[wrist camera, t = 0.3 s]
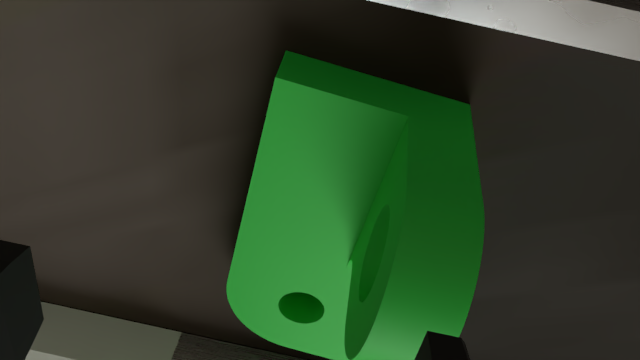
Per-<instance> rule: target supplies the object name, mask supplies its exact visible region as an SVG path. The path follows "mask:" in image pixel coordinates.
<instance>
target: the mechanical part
mask: <svg viewBox="0 0 640 360" xmlns="http://www.w3.org/2000/svg"><path fill="white" fill-rule="evenodd" d="M483 240H484V207H483V199H482V192H481V184H480V177H479V169H478V162H477V154H476V147H475V139H474V132H473V124H472V116H471V109H470V105H469V104H466V103H463V102H459V101H456V100H453V99H449V98H446V97H442V96H439V95H436V94H432V93H429V92H425V91H422V90H419V89H415V88H412V87H409V86H405V85H402V84H398V83H395V82H392V81H388V80H385V79H381V78H378V77H375V76H371V75H368V74H365V73H361V72H358V71H354V70H351V69H348V68H344V67H341V66H337V65H334V64H331V63H327V62H324V61H321V60H317V59H314V58H310V57H307V56H304V55H300V54H297V53H293V52H290V51H287V50H286V52H285V54H284V57H283V59H282V62H281V64H280V67H279V69H278V72H277V74H276V77H275V80H274V85H273V89H272V93H271V97H270V102H269V106H268V110H267V114H266V119H265V123H264V127H263V131H262V136H261V140H260V144H259V148H258V153H257V157H256V161H255V165H254V170H253V174H252V178H251V182H250V187H249V191H248V195H247V199H246V204H245V208H244V212H243V216H242V221H241V225H240V229H239V233H238V238H237V242H236V246H235V250H234V255H233V259H232V263H231V267H230V272H229V276H228V280H227V298H228V301H229V304H230V306H231V308H232V310H233V312H234V313H235V315H236V316H237V317H238V319H239V320H240V321H241V322H242V323H243V324H244V325H245V326H246V327H248V328H249V329H250V330H251V331H253V332H254V333H256V334H257V335H259V336H261V337H262V338H264V339H266V340H268V341H270V342H273V343H275V344H278V345H281V346H284V347H287V348H291V349H295V350H299V351H302V352H306V353H310V354H313V355H317V356H321V357H325V358H328V359H332V360H415V357H416V355H417V353H418V351H419V348H420V346H421V344H422V342H423V339H424V337H425V335H426V333H427V331H431V332H436V333H440V334H445V335H450V336H455V337H459V336H460V333H461V331H462V328H463V326H464V323H465V320H466V318H467V315H468V312H469V309H470V305H471V302H472V298H473V295H474V291H475V287H476V283H477V279H478V274H479V269H480V263H481V257H482V249H483Z"/></svg>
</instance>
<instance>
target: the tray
mask: <svg viewBox="0 0 640 360" xmlns="http://www.w3.org/2000/svg"><path fill="white" fill-rule="evenodd" d="M41 306H42V312H43V317H44V320H43V322H42V325H41V327H40V329H39V331H38V333H37V335H36V338H35V340H34V342H33V344H32V346H31V348H30V350H29V352H28V354H27V356H26V358H25V360H171V359H172V356H173V354H174V351H175V349H176V346H177V343H178V341H179V338H180V336H181V333H182V332H178V331H173V330H169V329H164V328H160V327H155V326H150V325H146V324H141V323H137V322H132V321H128V320H123V319H118V318H114V317H109V316H105V315H100V314H96V313H91V312H86V311H82V310H77V309H73V308H68V307H64V306H59V305H55V304H50V303H45V302H41Z"/></svg>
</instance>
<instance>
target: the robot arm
mask: <svg viewBox="0 0 640 360" xmlns="http://www.w3.org/2000/svg"><path fill="white" fill-rule="evenodd" d="M43 320H44V317H43V312H42V306H41V301H40V296H39V291H38V285H37V280H36V275H35V270H34V265H33V259H32V254H31V249H30V246H26V245H21V244H16V243H12V242H7V241H2V240H0V360H25V358H26V356H27V354H28V352H29V350H30V348H31V346H32V344H33V342H34V340H35V338H36V335H37V333H38V331H39V329H40V327H41V325H42V322H43ZM415 360H470V358H469V355H468V352H467V348H466V345H465V343H464V341H463V340H462V338H459V337H455V336H450V335H445V334H440V333H436V332H431V331H427V333H426V335H425V337H424V339H423V342H422V344H421V346H420V348H419V351H418V353H417V355H416V357H415Z"/></svg>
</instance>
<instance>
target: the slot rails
mask: <svg viewBox="0 0 640 360" xmlns="http://www.w3.org/2000/svg"><path fill="white" fill-rule="evenodd" d="M368 1H372V2H377V3H381V4H386V5H390V6H395V7H399V8H404V9H408V10H413V11H417V12H422V13H426V14H431V15H435V16H440V17H444V18H449V19H453V20H458V21H462V22H467V23H471V24H476V25H480V26H485V27H489V28H494V29H498V30H503V31H507V32H512V33H516V34H521V35H525V36H530V37H534V38H539V39H543V40H548V41H552V42H557V43H561V44H566V45H570V46H574V47H579V48H583V49H588V50H592V51H597V52H601V53H606V54H610V55H615V56H619V57H624V58H628V59H633V60H637V61H640V0H368ZM171 360H306V359H301V358H297V357H292V356H287V355H283V354H278V353H274V352H269V351H265V350H260V349H255V348H251V347H246V346H242V345H237V344H233V343H228V342H223V341H219V340H214V339H210V338H205V337H201V336H196V335H191V334H187V333H181V336H180V338H179V341H178V343H177V346H176V349H175V351H174V354H173V356H172V359H171Z"/></svg>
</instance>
